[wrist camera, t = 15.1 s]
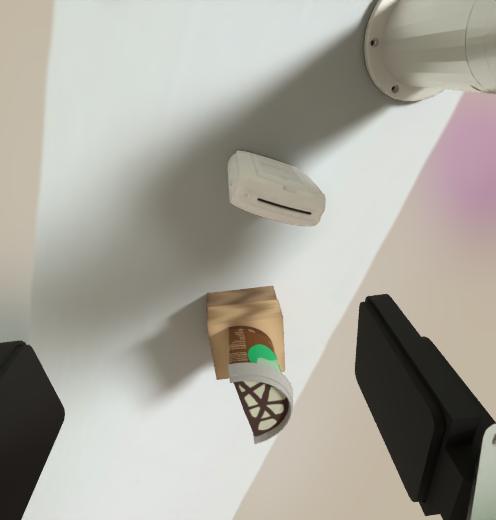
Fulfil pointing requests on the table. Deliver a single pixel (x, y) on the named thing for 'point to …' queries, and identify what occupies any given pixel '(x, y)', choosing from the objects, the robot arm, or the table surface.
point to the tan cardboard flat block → (240, 296)
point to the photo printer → (274, 190)
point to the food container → (259, 381)
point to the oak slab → (246, 314)
